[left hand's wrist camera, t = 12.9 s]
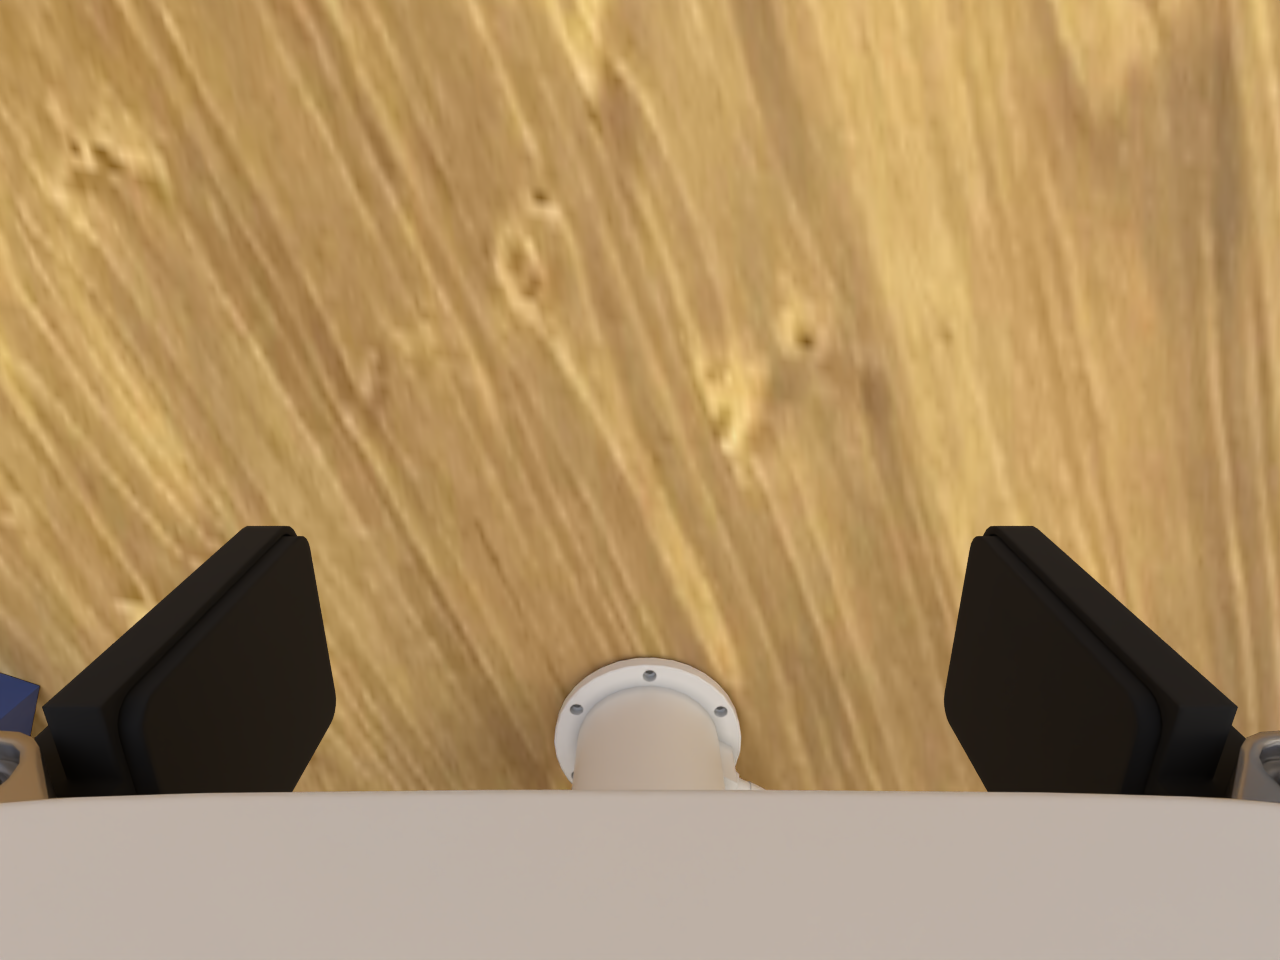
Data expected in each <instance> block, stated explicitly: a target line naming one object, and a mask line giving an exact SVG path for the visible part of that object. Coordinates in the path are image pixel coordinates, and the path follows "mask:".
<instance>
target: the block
mask: <svg viewBox="0 0 1280 960" xmlns="http://www.w3.org/2000/svg"><path fill="white" fill-rule="evenodd" d="M39 687H40V686H39V685H35V684H32V683H29V682H26V681H23V680H20V679H17V678H14V677H11V676H8V675H5V674H2V673H0V731H12V732H21V733H23V734H26V735H28V736H30V734H31V729H32V723H33V718H34V713H35V708H36V703H37V697H38V692H39Z"/></svg>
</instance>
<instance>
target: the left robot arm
mask: <svg viewBox="0 0 1280 960" xmlns="http://www.w3.org/2000/svg"><path fill="white" fill-rule="evenodd" d="M335 707H336V695H335V688H334V683H333V677H332V671H331V665H330V660H329V654H328V648H327V643H326V637H325V631H324V625H323V620H322V614H321V608H320V603H319V597H318V591H317V585H316V580H315V574H314V568H313V562H312V557H311V551H310V546H309V543H308V541H307V539H306V538H305V537H304V536H297V535H296V533H295V531H294V530H293V529H292V528H291V527H290V526H246V527H245V528H243V529H242V530H240V531H239V532H238V533H237V534H236V535H235V536H234V537H233V538H231V539H230V540H229V541H228V542H227V543H226V544H225V545H224V546H222V547H221V548H220V549H219V550H218V551H217V552H216V553H215V554H213V555H212V556H211V557H210V558H209V559H208V560H207V561H206V562H204V563H203V564H202V565H201V566H200V567H199V568H198V569H197V570H195V571H194V572H193V573H192V574H191V575H190V576H189V577H188V578H186V579H185V580H184V581H183V582H182V583H181V584H180V585H179V586H178V587H176V588H175V589H174V590H173V591H172V592H171V593H170V594H169V595H167V596H166V597H165V598H164V599H163V600H162V601H161V602H160V603H158V604H157V605H156V606H155V607H154V608H153V609H152V610H151V611H149V612H148V613H147V614H146V615H145V616H144V617H143V618H142V619H140V620H139V621H138V622H137V623H136V624H135V625H134V626H133V627H131V628H130V629H129V630H128V631H127V632H126V633H125V634H124V635H122V636H121V637H120V638H119V639H118V640H117V641H116V642H115V643H113V644H112V645H111V646H110V647H109V648H108V649H107V650H106V651H104V652H103V653H102V654H101V655H100V656H99V657H98V658H97V659H95V660H94V661H93V662H92V663H91V664H90V665H89V666H88V667H87V668H85V669H84V670H83V671H82V672H81V673H80V674H79V675H78V676H76V677H75V678H74V679H73V680H72V681H71V682H70V683H69V684H67V685H66V686H65V687H64V688H63V689H62V690H61V691H60V692H58V693H57V694H56V695H55V696H54V697H53V698H52V699H51V700H49V701H48V702H47V703H46V704H45V705H44V706H43V707H42V708H43V711H44V714H45V717H46V720H47V723H48V726H47V727H46V728H45V729H44V730H43V731H42V732H41V733H40V734H39V735H38V736H36V737H35V738H33V737H30V736H28V735H26V734H23V733H21V732H12V731H0V960H1280V731H1268V732H1259V733H1257V734H1254V735H1252V736H1250V737H1247V738H1245V737H1244V736H1242V735H1241V734H1240V733H1239V732H1238V731H1237V730H1236V729H1235V728H1234V727H1233V726H1232V723H1233V720H1234V717H1235V714H1236V711H1237V708H1238V707H1237V706H1236V705H1235V704H1234V703H1233V702H1232V701H1231V700H1229V699H1228V698H1227V697H1226V696H1225V695H1224V694H1223V693H1222V692H1220V691H1219V690H1218V689H1217V688H1216V687H1215V686H1214V685H1213V684H1211V683H1210V682H1209V681H1208V680H1207V679H1206V678H1205V677H1204V676H1202V675H1201V674H1200V673H1199V672H1198V671H1197V670H1196V669H1195V668H1193V667H1192V666H1191V665H1190V664H1189V663H1188V662H1187V661H1186V660H1185V659H1183V658H1182V657H1181V656H1180V655H1179V654H1178V653H1177V652H1176V651H1174V650H1173V649H1172V648H1171V647H1170V646H1169V645H1168V644H1167V643H1165V642H1164V641H1163V640H1162V639H1161V638H1160V637H1159V636H1158V635H1156V634H1155V633H1154V632H1153V631H1152V630H1151V629H1150V628H1149V627H1147V626H1146V625H1145V624H1144V623H1143V622H1142V621H1141V620H1140V619H1138V618H1137V617H1136V616H1135V615H1134V614H1133V613H1132V612H1131V611H1129V610H1128V609H1127V608H1126V607H1125V606H1124V605H1123V604H1122V603H1120V602H1119V601H1118V600H1117V599H1116V598H1115V597H1114V596H1113V595H1111V594H1110V593H1109V592H1108V591H1107V590H1106V589H1105V588H1104V587H1102V586H1101V585H1100V584H1099V583H1098V582H1097V581H1096V580H1095V579H1093V578H1092V577H1091V576H1090V575H1089V574H1088V573H1087V572H1086V571H1085V570H1083V569H1082V568H1081V567H1080V566H1079V565H1078V564H1077V563H1076V562H1074V561H1073V560H1072V559H1071V558H1070V557H1069V556H1068V555H1067V554H1065V553H1064V552H1063V551H1062V550H1061V549H1060V548H1059V547H1058V546H1056V545H1055V544H1054V543H1053V542H1052V541H1051V540H1050V539H1049V538H1047V537H1046V536H1045V535H1044V534H1043V533H1042V532H1041V531H1040V530H1038V529H1037V528H1035V527H1034V526H990V527H989V528H988V529H987V530H986V531H985V533H984V535H983V536H976V537H975V538H974V539H973V541H972V543H971V546H970V551H969V557H968V562H967V568H966V574H965V580H964V585H963V591H962V597H961V602H960V608H959V614H958V620H957V625H956V631H955V637H954V643H953V648H952V654H951V660H950V665H949V671H948V677H947V683H946V688H945V695H944V707H945V713H946V716H947V719H948V722H949V724H950V726H951V727H952V729H953V731H954V733H955V735H956V736H957V738H958V740H959V742H960V743H961V745H962V747H963V749H964V750H965V752H966V754H967V756H968V758H969V759H970V761H971V763H972V765H973V766H974V768H975V770H976V772H977V774H978V775H979V777H980V779H981V781H982V782H983V784H984V786H985V788H986V789H987V791H988V792H930V791H817V790H765V789H764V788H762V787H760V786H758V785H756V784H754V783H752V782H750V781H745V780H743V779H741V778H739V774H738V772H736V770H735V766H736V763H737V759H738V756H739V753H740V746H741V732H740V725H739V720H738V717H737V713H736V710H735V707H734V705H733V703H732V702H731V700H730V698H729V696H728V695H727V693H726V692H725V691H724V690H723V689H722V688H721V687H720V685H719V684H718V683H717V682H715V681H714V680H713V679H711V678H710V677H709V676H708V675H706V674H705V673H703V672H701V671H699V670H697V669H695V668H693V667H692V666H690V665H687V664H683V663H680V662H677V661H674V660H668V659H661V658H634V659H629V660H623V661H618V662H615V663H613V664H610V665H607V666H605V667H602V668H600V669H598V670H597V671H595V672H593V673H591V674H590V675H588V676H587V677H585V678H584V679H583V680H582V681H581V682H580V683H578V684H577V685H576V686H575V687H574V688H573V690H572V691H571V692H570V693H569V695H568V696H567V697H566V699H565V701H564V703H563V705H562V707H561V709H560V711H559V714H558V719H557V724H556V730H555V741H554V743H555V749H556V756H557V759H558V761H559V764H560V766H561V769H562V771H563V772H564V774H565V775H566V777H567V779H568V780H569V781H570V782H571V783H572V790H439V791H350V792H292V791H293V789H294V788H295V786H296V784H297V782H298V781H299V779H300V777H301V775H302V774H303V772H304V770H305V768H306V766H307V765H308V763H309V761H310V759H311V758H312V756H313V754H314V752H315V750H316V749H317V747H318V745H319V743H320V742H321V740H322V738H323V736H324V734H325V733H326V731H327V729H328V727H329V726H330V724H331V722H332V719H333V716H334V713H335Z"/></svg>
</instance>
